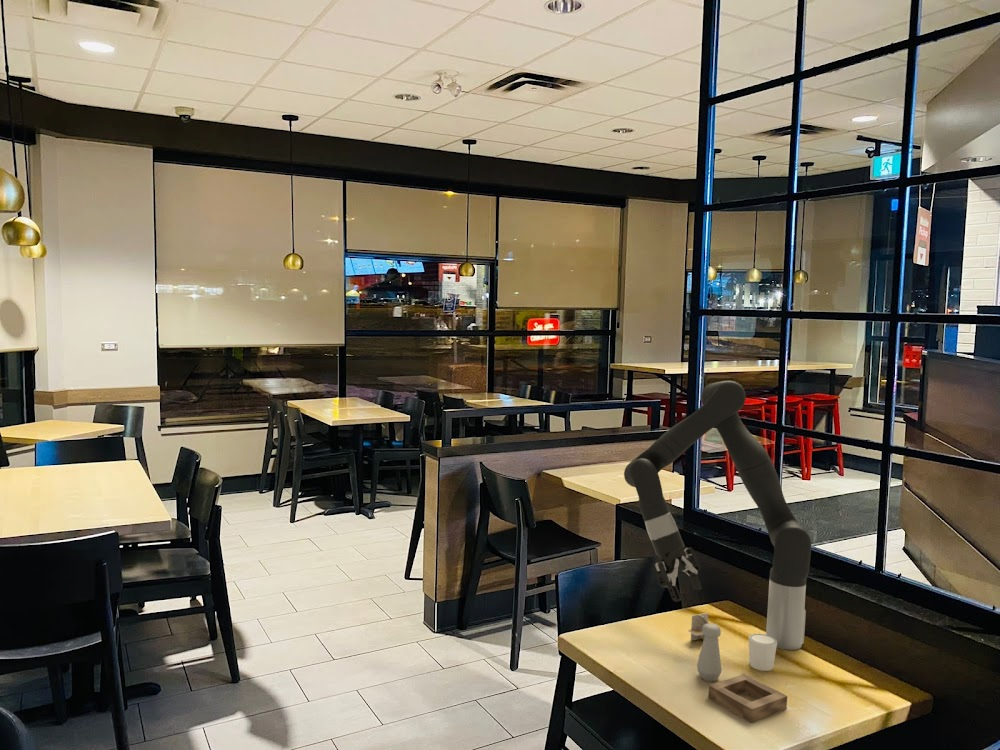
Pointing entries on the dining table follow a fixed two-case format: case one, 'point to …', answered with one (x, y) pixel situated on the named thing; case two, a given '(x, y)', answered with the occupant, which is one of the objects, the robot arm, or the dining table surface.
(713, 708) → the dining table surface
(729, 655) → the dining table surface
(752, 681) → the socket
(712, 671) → the salt shaker
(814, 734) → the dining table surface
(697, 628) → the architectural model
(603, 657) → the dining table surface
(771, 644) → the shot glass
